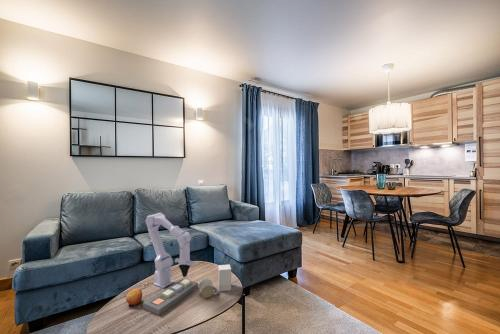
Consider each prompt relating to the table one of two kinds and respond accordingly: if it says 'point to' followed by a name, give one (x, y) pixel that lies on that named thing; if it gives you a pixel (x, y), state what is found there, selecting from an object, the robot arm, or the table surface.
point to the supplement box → (224, 277)
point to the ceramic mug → (207, 288)
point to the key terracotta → (158, 301)
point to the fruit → (134, 296)
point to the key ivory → (185, 283)
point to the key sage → (168, 294)
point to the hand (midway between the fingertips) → (184, 276)
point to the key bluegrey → (177, 288)
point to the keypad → (172, 300)
